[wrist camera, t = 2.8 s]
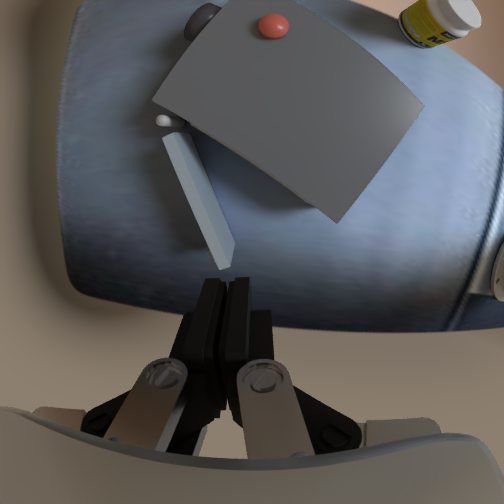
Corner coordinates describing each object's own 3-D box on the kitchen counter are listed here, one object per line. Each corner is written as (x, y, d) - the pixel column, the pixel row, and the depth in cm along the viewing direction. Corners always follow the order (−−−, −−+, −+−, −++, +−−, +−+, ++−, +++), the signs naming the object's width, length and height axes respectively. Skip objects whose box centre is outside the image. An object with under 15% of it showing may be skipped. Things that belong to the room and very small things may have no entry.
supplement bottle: (413, 52, 17) (464, 33, 9) (388, 13, 15) (430, -18, 8) (442, 45, 16) (492, 30, 8) (419, 8, 14) (462, -16, 6)
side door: (235, 242, 25) (230, 266, 21) (219, 248, 25) (211, 272, 21) (189, 133, 21) (173, 132, 17) (173, 140, 21) (153, 142, 17)
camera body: (396, 109, 20) (428, 105, 14) (313, 217, 24) (327, 240, 19) (235, -1, 16) (229, -31, 11) (149, 110, 20) (120, 105, 15)
